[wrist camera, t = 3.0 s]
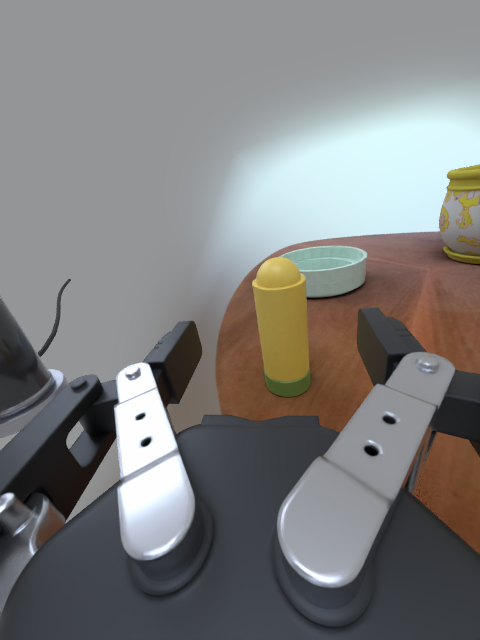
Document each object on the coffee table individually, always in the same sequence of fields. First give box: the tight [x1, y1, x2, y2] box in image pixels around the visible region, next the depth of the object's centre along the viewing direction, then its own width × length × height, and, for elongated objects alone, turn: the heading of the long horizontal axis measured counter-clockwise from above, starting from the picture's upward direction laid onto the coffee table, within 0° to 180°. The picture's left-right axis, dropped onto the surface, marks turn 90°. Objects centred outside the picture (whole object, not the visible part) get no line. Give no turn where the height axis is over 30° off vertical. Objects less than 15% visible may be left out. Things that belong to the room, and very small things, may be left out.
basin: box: [280, 246, 367, 298], centre depth 51 cm, size 17×17×6 cm
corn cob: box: [252, 257, 311, 397], centre depth 25 cm, size 5×5×14 cm
